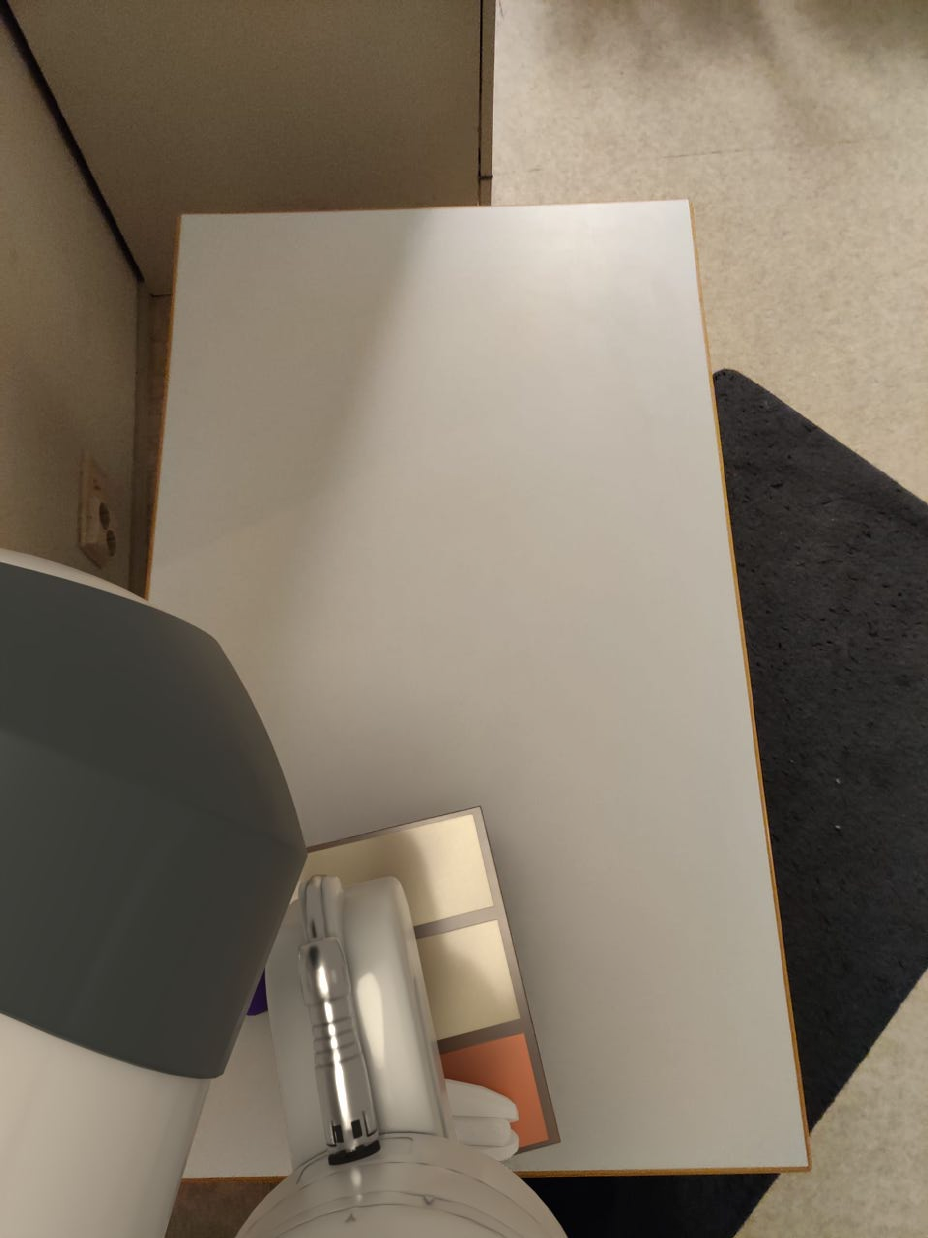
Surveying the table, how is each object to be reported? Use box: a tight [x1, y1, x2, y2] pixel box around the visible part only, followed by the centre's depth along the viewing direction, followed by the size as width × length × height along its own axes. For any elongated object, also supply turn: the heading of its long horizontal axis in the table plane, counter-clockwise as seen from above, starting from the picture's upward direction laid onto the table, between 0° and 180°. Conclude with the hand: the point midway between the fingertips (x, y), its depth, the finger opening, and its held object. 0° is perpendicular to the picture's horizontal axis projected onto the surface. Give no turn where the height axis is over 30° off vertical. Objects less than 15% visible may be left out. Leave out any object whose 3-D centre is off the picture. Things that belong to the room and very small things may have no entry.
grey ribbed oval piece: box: [445, 1079, 519, 1162], centre depth 36 cm, size 3×8×3 cm, turn 88°
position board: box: [289, 805, 562, 1157], centre depth 40 cm, size 11×15×1 cm
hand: (419, 1173), depth 30 cm, fingers open, 8 cm apart
